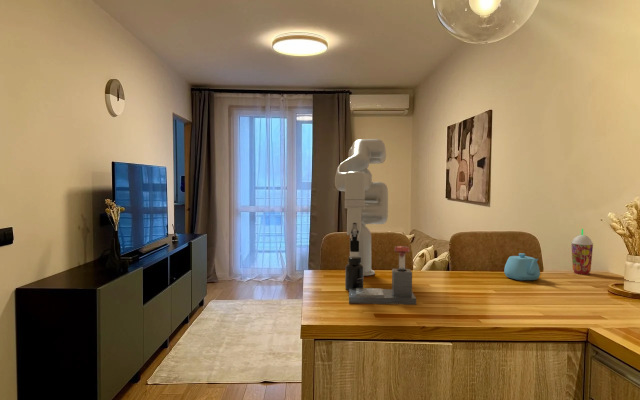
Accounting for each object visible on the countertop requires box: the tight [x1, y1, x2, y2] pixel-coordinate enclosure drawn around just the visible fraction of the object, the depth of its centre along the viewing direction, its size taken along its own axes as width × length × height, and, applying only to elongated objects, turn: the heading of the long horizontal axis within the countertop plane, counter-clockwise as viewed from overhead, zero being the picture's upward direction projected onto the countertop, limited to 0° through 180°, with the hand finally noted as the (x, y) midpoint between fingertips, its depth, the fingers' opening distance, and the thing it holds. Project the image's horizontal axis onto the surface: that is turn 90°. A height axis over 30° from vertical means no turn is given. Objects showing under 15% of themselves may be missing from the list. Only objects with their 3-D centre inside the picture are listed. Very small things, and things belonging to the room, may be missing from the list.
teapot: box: [503, 252, 541, 281], centre depth 177 cm, size 13×11×18 cm
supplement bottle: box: [344, 256, 364, 291], centre depth 160 cm, size 7×7×12 cm
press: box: [348, 268, 417, 305], centre depth 145 cm, size 12×22×10 cm, turn 86°
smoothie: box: [570, 228, 594, 276], centre depth 189 cm, size 8×8×20 cm
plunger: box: [394, 245, 410, 271], centre depth 144 cm, size 5×5×12 cm
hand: (354, 250), depth 159 cm, fingers open, 9 cm apart
